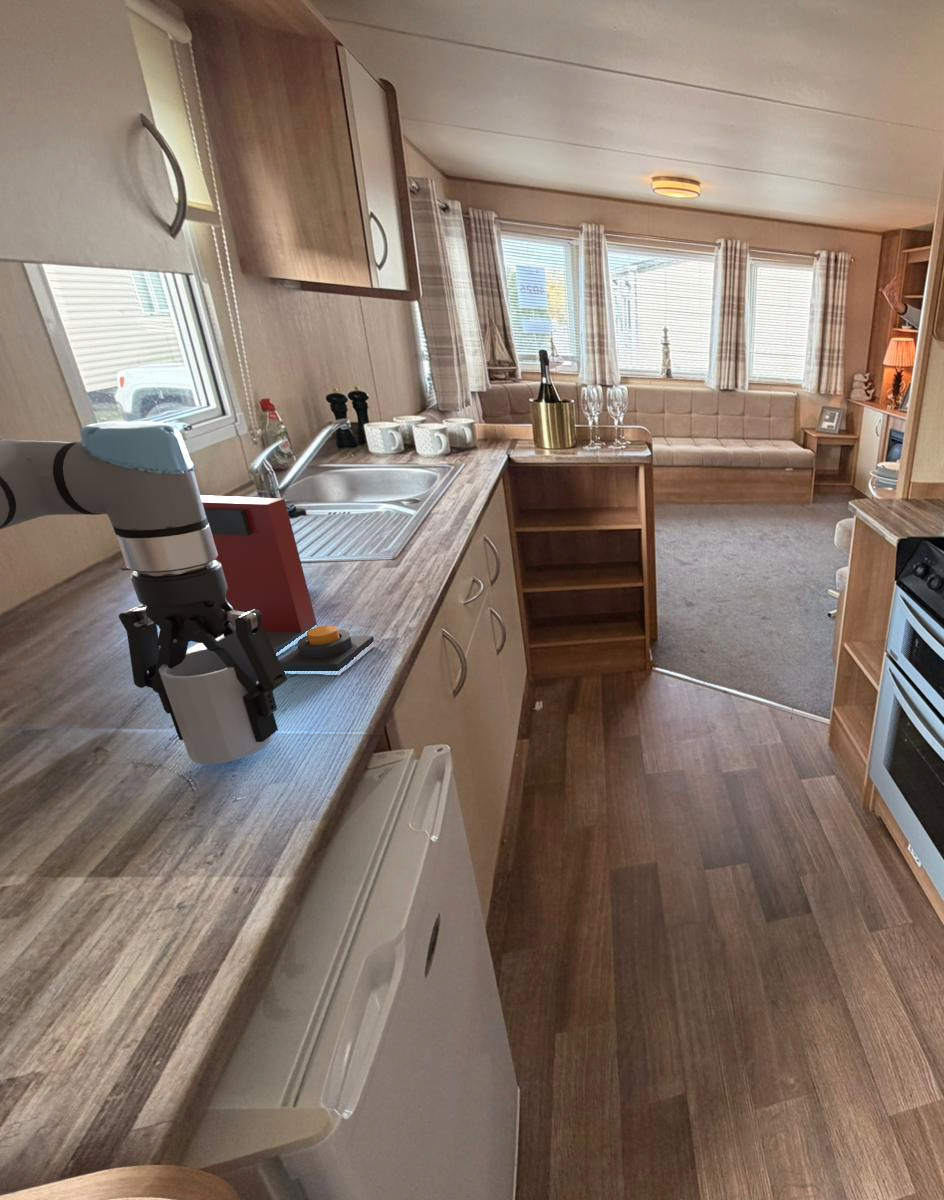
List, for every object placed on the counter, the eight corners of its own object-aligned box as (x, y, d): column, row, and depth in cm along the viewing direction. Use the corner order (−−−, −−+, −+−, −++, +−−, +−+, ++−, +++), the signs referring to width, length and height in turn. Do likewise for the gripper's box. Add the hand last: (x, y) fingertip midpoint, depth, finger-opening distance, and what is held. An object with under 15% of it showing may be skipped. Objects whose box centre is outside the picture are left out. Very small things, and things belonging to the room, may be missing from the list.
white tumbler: (170, 763, 76) (138, 676, 72) (223, 725, 84) (197, 644, 79) (242, 765, 77) (215, 679, 72) (289, 727, 85) (267, 646, 80)
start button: (329, 646, 101) (327, 636, 100) (303, 645, 100) (300, 635, 100) (345, 635, 104) (342, 625, 104) (319, 634, 104) (317, 625, 103)
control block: (340, 676, 100) (334, 653, 98) (279, 675, 99) (272, 652, 97) (375, 647, 109) (371, 626, 107) (320, 646, 108) (315, 624, 107)
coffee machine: (257, 671, 100) (211, 523, 90) (168, 669, 99) (113, 519, 89) (318, 630, 113) (284, 498, 104) (241, 628, 112) (200, 495, 103)
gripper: (296, 558, 76) (336, 720, 84) (106, 549, 74) (166, 715, 83) (250, 581, 69) (297, 754, 77) (38, 571, 67) (111, 750, 76)
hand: (229, 734), depth 80 cm, fingers closed on white tumbler, 8 cm apart
